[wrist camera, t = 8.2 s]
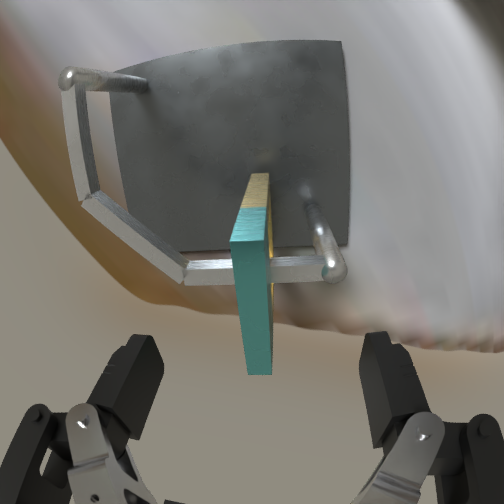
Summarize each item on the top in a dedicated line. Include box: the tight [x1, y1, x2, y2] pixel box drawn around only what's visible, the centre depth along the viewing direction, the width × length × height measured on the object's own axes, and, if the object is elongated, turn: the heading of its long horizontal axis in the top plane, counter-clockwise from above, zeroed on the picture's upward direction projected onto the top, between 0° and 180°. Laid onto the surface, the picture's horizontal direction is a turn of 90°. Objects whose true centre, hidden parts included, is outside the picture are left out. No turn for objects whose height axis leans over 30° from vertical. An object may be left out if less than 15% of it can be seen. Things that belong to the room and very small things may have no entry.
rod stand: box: [58, 40, 349, 286], centre depth 17 cm, size 19×17×10 cm
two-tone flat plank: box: [229, 173, 274, 375], centre depth 17 cm, size 7×1×11 cm, turn 4°
